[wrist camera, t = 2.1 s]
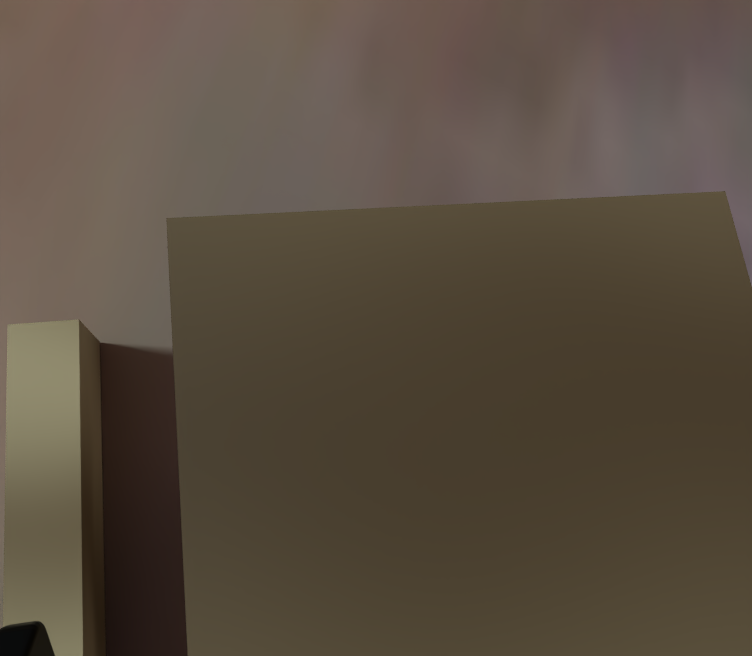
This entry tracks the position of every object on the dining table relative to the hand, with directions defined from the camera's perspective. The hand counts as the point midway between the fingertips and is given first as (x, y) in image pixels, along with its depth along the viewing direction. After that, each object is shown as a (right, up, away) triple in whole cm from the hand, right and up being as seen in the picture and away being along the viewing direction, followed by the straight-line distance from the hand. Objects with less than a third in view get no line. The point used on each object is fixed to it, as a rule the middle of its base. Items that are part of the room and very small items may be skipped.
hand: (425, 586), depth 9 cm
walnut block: (-1, -1, +9) cm, 9 cm away
